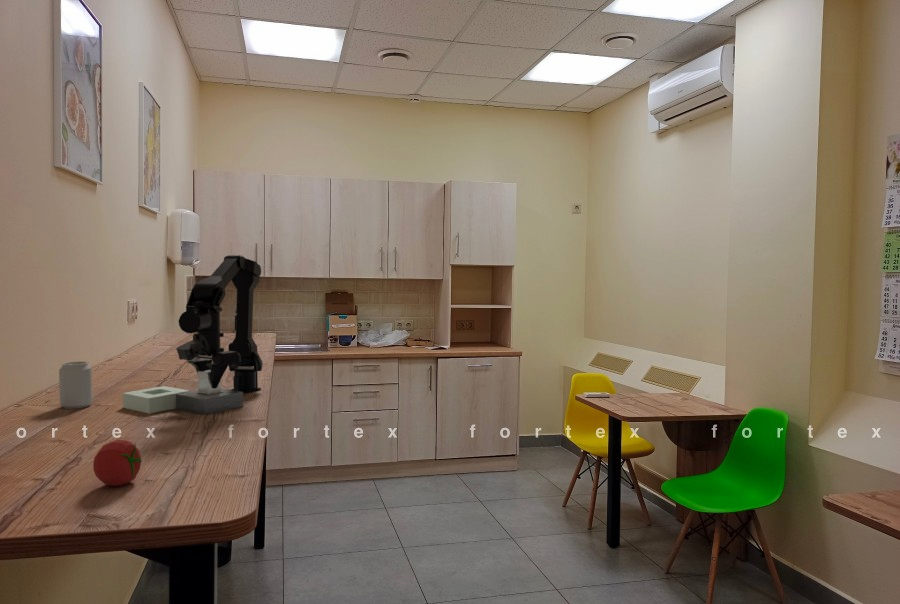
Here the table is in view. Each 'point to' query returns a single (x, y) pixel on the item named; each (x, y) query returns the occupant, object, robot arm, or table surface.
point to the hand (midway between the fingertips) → (209, 387)
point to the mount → (209, 401)
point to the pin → (207, 383)
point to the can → (75, 385)
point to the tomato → (117, 463)
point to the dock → (152, 399)
